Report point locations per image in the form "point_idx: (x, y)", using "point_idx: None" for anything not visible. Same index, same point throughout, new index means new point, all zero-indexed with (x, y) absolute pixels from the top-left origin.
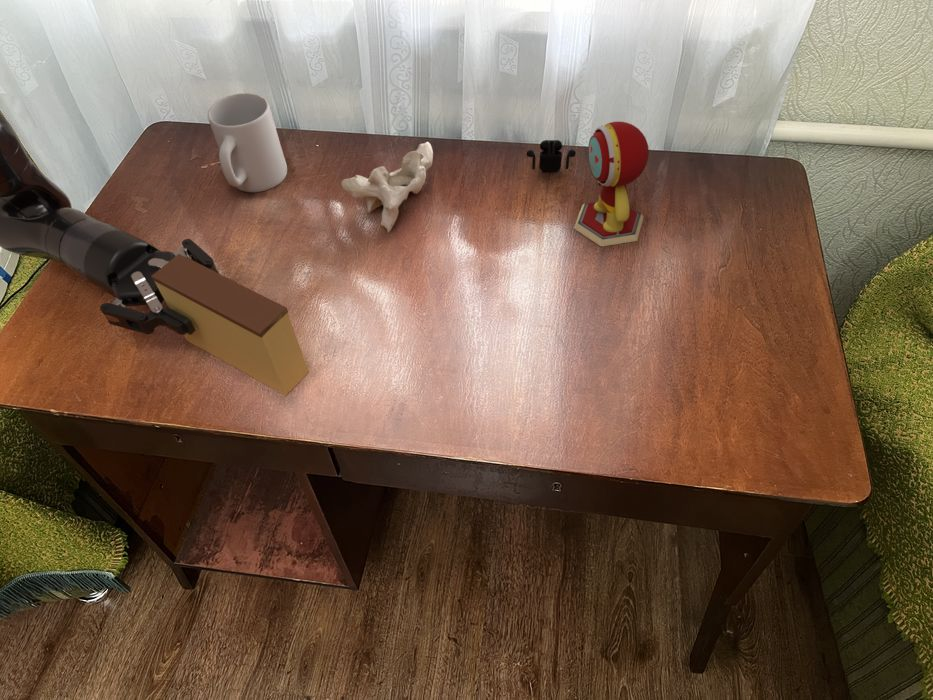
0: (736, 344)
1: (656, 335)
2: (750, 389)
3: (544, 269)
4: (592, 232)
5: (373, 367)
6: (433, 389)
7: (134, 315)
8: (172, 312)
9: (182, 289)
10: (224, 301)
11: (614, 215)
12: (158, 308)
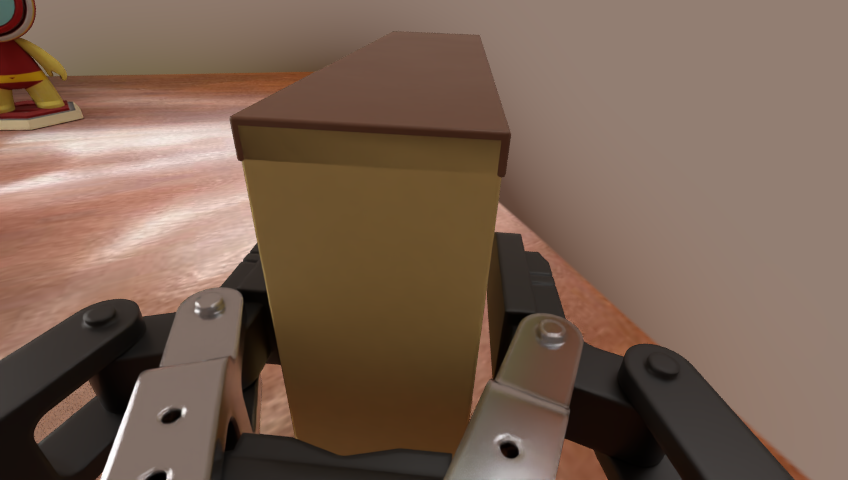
0: (239, 85)
1: (234, 99)
2: (284, 83)
3: (121, 134)
4: (56, 114)
5: None
6: None
7: (696, 400)
8: (512, 278)
9: (479, 75)
10: (444, 48)
11: (48, 82)
12: (546, 322)
